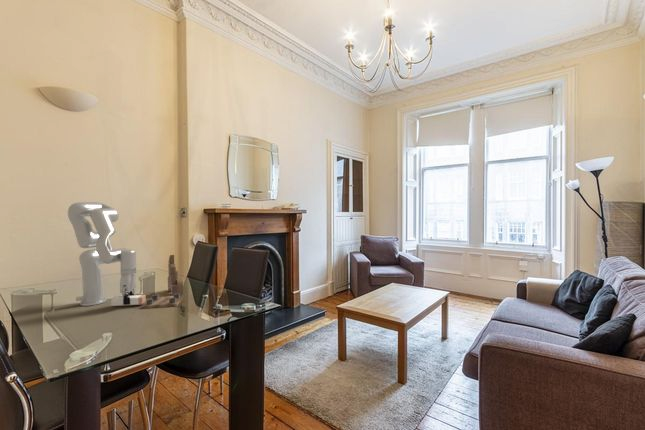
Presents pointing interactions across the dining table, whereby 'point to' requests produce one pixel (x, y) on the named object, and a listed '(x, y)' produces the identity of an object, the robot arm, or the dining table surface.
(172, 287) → the wooden toy
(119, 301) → the block
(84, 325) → the dining table surface
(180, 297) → the brown fixture board
